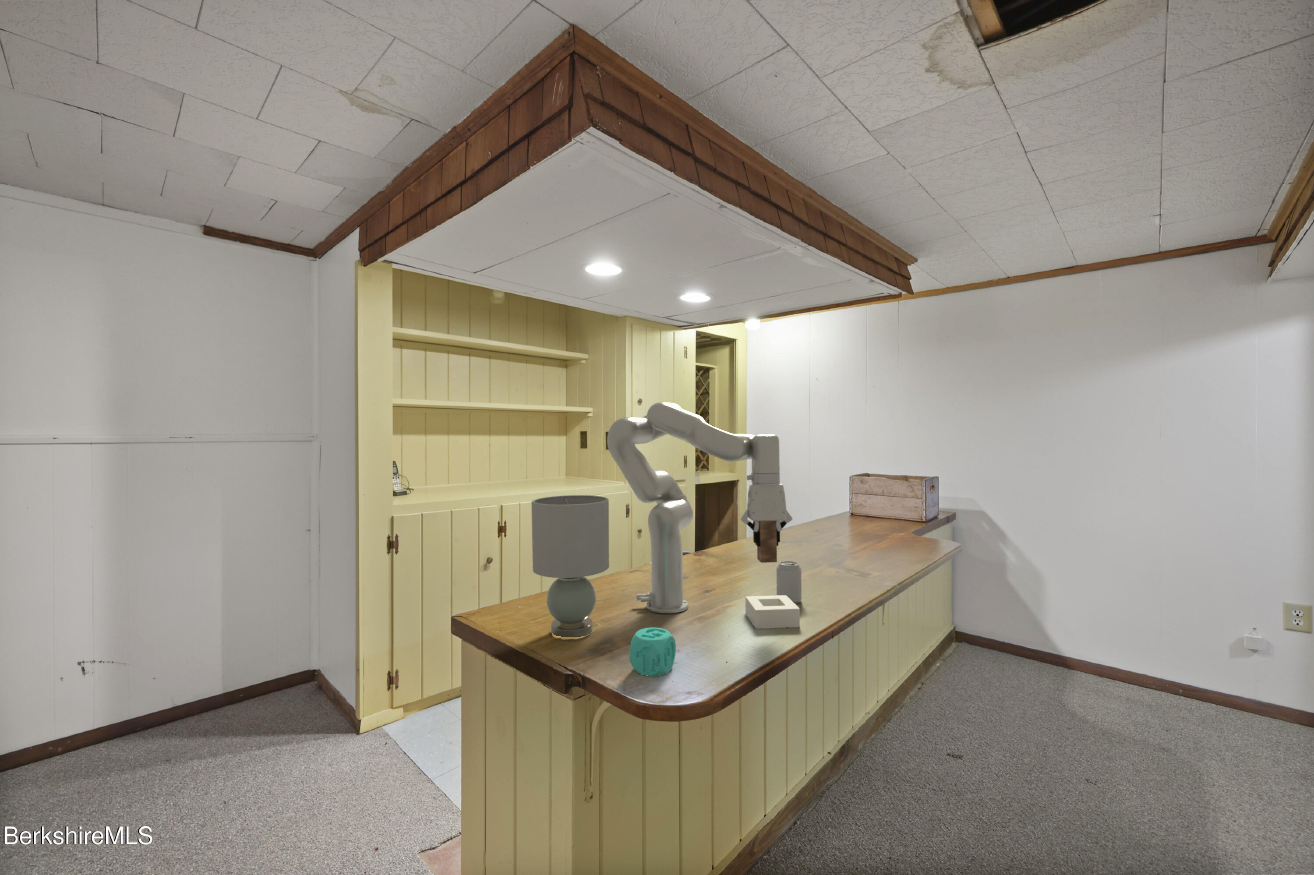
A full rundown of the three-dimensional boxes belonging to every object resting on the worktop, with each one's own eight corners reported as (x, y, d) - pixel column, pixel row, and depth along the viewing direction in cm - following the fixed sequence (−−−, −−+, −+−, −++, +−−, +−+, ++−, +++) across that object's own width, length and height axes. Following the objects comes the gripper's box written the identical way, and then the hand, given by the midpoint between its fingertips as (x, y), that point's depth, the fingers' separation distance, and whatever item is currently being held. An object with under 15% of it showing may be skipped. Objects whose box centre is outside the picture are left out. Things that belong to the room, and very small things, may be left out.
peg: (760, 562, 150) (760, 518, 150) (757, 558, 154) (756, 516, 154) (776, 562, 150) (776, 518, 150) (772, 558, 154) (772, 515, 154)
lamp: (565, 654, 132) (563, 507, 131) (517, 633, 145) (516, 500, 145) (625, 631, 147) (624, 498, 146) (577, 614, 160) (576, 493, 160)
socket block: (755, 628, 147) (755, 610, 147) (745, 613, 159) (745, 596, 159) (799, 627, 148) (799, 608, 148) (786, 612, 160) (786, 595, 160)
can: (802, 605, 166) (802, 566, 166) (776, 604, 168) (776, 565, 167) (800, 598, 173) (800, 560, 173) (776, 596, 175) (776, 559, 175)
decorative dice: (629, 673, 122) (628, 637, 121) (644, 659, 129) (644, 625, 129) (662, 679, 118) (662, 642, 118) (676, 664, 126) (676, 630, 125)
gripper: (738, 481, 148) (739, 549, 148) (800, 479, 148) (801, 547, 149) (733, 478, 155) (734, 543, 155) (792, 477, 156) (793, 541, 156)
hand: (766, 544), depth 152 cm, fingers closed on peg, 4 cm apart
